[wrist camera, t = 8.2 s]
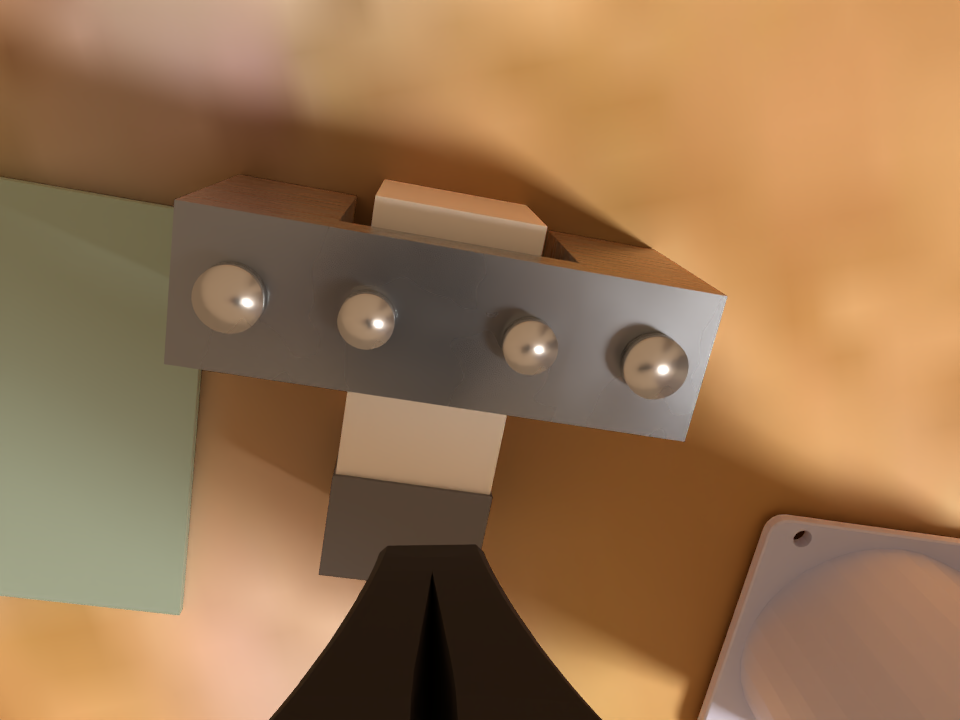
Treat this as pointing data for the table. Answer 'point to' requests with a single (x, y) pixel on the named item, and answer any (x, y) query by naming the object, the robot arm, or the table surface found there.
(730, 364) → the table surface
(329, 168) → the table surface
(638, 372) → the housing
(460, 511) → the plug
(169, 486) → the mat
